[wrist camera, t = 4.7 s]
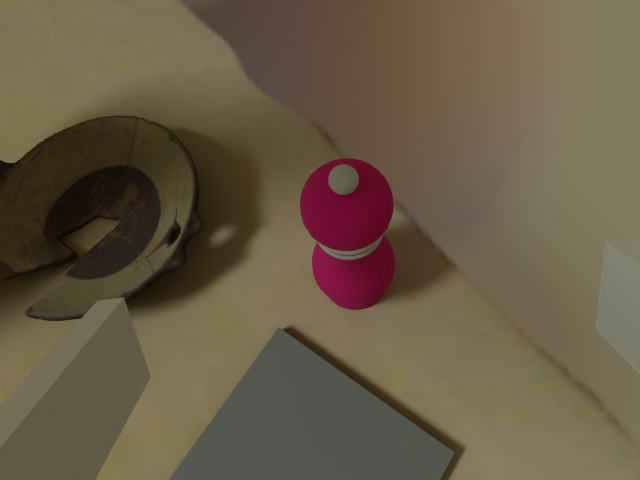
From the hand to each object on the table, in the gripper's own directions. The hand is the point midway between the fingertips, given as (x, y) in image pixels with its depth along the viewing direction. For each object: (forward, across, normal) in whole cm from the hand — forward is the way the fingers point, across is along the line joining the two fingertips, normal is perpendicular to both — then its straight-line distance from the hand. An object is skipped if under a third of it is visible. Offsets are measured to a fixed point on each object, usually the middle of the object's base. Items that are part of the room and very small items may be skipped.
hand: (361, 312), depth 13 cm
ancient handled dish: (+36, +27, +6) cm, 46 cm away
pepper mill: (+28, 0, +14) cm, 32 cm away
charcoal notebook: (+16, +6, +26) cm, 31 cm away
